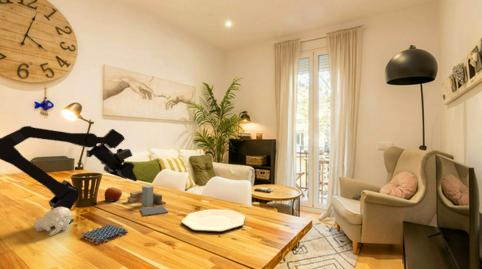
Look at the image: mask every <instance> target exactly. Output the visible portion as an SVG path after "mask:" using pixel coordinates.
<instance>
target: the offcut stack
mask: <svg viewBox="0 0 482 269" xmlns="http://www.w3.org/2000/svg"><path fill="white" fill-rule="evenodd" d="M140 202H142V190H139V191H133V192H129V196H128V197H127V203H130V204H135V203H140Z"/></svg>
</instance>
